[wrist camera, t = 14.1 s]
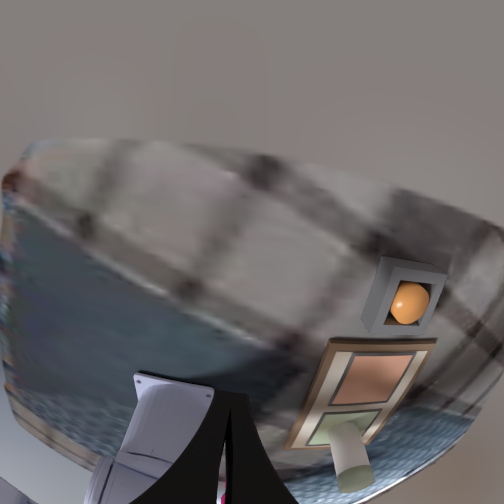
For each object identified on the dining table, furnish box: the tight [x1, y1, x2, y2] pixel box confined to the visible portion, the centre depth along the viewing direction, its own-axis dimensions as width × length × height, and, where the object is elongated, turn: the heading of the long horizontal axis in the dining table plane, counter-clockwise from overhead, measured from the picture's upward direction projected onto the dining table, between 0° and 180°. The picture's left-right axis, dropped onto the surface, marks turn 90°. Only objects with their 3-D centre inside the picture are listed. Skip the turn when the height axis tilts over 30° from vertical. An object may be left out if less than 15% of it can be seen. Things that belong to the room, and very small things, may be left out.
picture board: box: [283, 339, 436, 450], centre depth 24 cm, size 18×12×1 cm, turn 172°
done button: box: [389, 280, 429, 324], centre depth 19 cm, size 3×3×2 cm
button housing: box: [361, 256, 447, 335], centre depth 19 cm, size 6×6×2 cm
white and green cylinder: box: [328, 421, 375, 493], centre depth 21 cm, size 4×4×8 cm
